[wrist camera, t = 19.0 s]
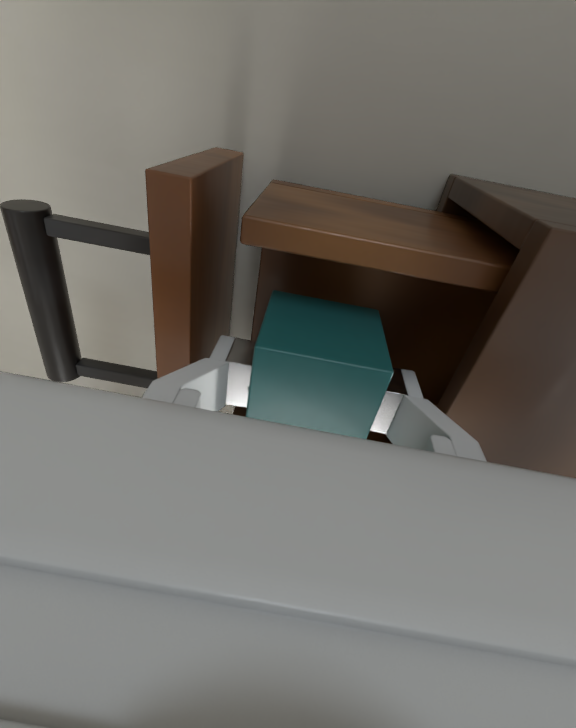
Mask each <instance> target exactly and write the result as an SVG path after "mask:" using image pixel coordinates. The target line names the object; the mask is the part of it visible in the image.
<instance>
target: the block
mask: <svg viewBox="0 0 576 728" xmlns="http://www.w3.org/2000/svg"><path fill="white" fill-rule="evenodd" d="M393 373H394V372H393V368H392V364H391V360H390V355H389V351H388V347H387V343H386V339H385V335H384V331H383V327H382V323H381V318H380V314H379V311H378V310H376V309H371V308H366V307H360V306H355V305H350V304H345V303H339V302H334V301H329V300H324V299H318V298H313V297H308V296H303V295H297V294H292V293H287V292H282V291H276V290H273V291H272V294H271V297H270V300H269V303H268V306H267V309H266V312H265V316H264V319H263V322H262V325H261V328H260V331H259V334H258V337H257V341H256V344H255V347H254V354H253V362H252V370H251V377H250V385H249V393H248V401H247V409H246V416H245V417H249V418H254V419H260V420H265V421H270V422H276V423H281V424H287V425H292V426H297V427H303V428H308V429H313V430H319V431H324V432H330V433H335V434H340V435H346V436H351V437H356V438H362V439H367V437H368V434H369V432H370V429H371V427H372V424H373V422H374V420H375V417H376V415H377V412H378V410H379V407H380V405H381V403H382V400H383V398H384V395H385V393H386V390H387V388H388V386H389V383H390V381H391V378H392V376H393Z"/></svg>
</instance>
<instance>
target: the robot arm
mask: <svg viewBox="0 0 576 728" xmlns="http://www.w3.org/2000/svg"><path fill="white" fill-rule="evenodd" d="M255 344H256V342H255V341H250V340H245V339H241V338H235V337H231V336H226V335H221V336H220V338H219V340H218V342H217V344H216V346H215V348H214V350H213V352H212V354H211V356H210V358H204V359H201V360H199V361H197V362H195V363H192V364H190V365H188V366H185V367H183V368H181V369H179V370H176V371H174V372H172V373H170V374H167V375H165V376H163V377H160V378H158V379H156V380H154V381H152V383H151V384H150V386H149V387H148V389H147V390H146V392H145V393H144V394H143V396H142V397H136V396H131V395H125V394H120V393H115V392H109V391H104V390H99V389H93V388H88V387H83V386H77V385H72V384H66V383H61V382H56V381H50V380H45V379H40V378H34V377H29V376H23V375H18V374H13V373H7V372H2V371H0V728H576V478H571V477H566V476H560V475H555V474H550V473H544V472H539V471H534V470H528V469H523V468H518V467H512V466H507V465H501V464H496V463H491V462H487V461H486V458H485V456H484V454H483V452H482V449H481V447H480V445H479V443H478V442H477V441H476V440H475V439H474V438H473V437H472V436H470V435H469V434H468V433H467V432H466V431H464V430H463V429H462V428H461V427H460V426H459V425H457V424H456V423H455V422H454V421H453V420H451V419H450V418H449V417H448V416H447V415H445V414H444V413H443V412H442V411H441V410H440V409H438V408H437V407H436V406H435V405H434V404H432V403H431V402H430V401H429V400H428V399H424V398H423V395H422V392H421V389H420V386H419V383H418V380H417V377H416V374H415V372H414V371H412V370H405V369H398V368H393V372H394V373H393V376H392V378H391V381H390V383H389V386H388V388H387V390H386V393H385V395H384V398H383V400H382V403H381V405H380V407H379V410H378V412H377V415H376V417H375V420H374V422H373V424H372V427H371V429H370V431H373V432H378V433H382V434H386V436H387V437H388V438H389V440H390V441H391V443H392V444H389V443H383V442H378V441H373V440H367V439H362V438H356V437H351V436H346V435H340V434H335V433H330V432H324V431H319V430H313V429H308V428H303V427H297V426H292V425H287V424H281V423H276V422H270V421H265V420H260V419H254V418H249V417H244V416H238V415H233V414H228V413H222V412H218V411H219V410H220V409H222V408H223V407H224V406H226V405H233V406H239V407H245V408H247V401H248V393H249V385H250V377H251V370H252V362H253V354H254V347H255Z"/></svg>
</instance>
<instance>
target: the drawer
mask: <svg viewBox="0 0 576 728" xmlns="http://www.w3.org/2000/svg"><path fill="white" fill-rule="evenodd" d="M243 156H244V154H243V153H242V152H238V151H233V150H228V149H222V148H217V147H215V148H211V149H208V150H205V151H202V152H199V153H196V154H192V155H189V156H186V157H183V158H180V159H176V160H173V161H170V162H167V163H164V164H160V165H157V166H154V167H151V168H148V169H146V170H145V174H146V191H147V208H148V225H149V232H145V231H140V230H135V229H129V228H124V227H119V226H114V225H109V224H104V223H98V222H93V221H88V220H83V219H78V218H72V217H67V216H62V215H57V214H53V215H52V211H51V207H50V205H49V204H47V203H44V202H41V201H35V200H10V201H5V202H3V203H1V204H0V208H1V212H2V215H3V219H4V223H5V226H6V230H7V233H8V237H9V241H10V244H11V248H12V251H13V255H14V259H15V262H16V266H17V269H18V273H19V276H20V280H21V284H22V287H23V291H24V294H25V298H26V302H27V305H28V309H29V312H30V316H31V319H32V323H33V327H34V330H35V334H36V337H37V341H38V345H39V348H40V352H41V355H42V359H43V363H44V366H45V370H46V373H47V376H48V378H49V379H51V380H52V381H56V382H67V381H71V380H74V379H76V378H78V377H80V376H84V377H90V378H95V379H101V380H106V381H111V382H117V383H122V384H127V385H133V386H138V387H143V388H148V387H149V386H150V384H151V383H152V381H154V380H156V379H158V378H160V377H163V376H165V375H167V374H170V373H172V372H174V371H176V370H179V369H181V368H183V367H185V366H188V365H190V364H192V363H195V362H197V361H199V360H201V359H204V358H210V356H211V354H212V352H213V350H214V348H215V346H216V344H217V342H218V340H219V338H220V336H221V335H226V336H229V332H230V320H231V307H232V294H233V282H234V269H235V256H236V244H237V231H238V219H239V206H240V193H241V181H242V168H243ZM57 237H58V238H63V239H69V240H74V241H79V242H84V243H89V244H95V245H100V246H105V247H110V248H115V249H121V250H126V251H131V252H136V253H141V254H147V255H150V260H151V277H152V294H153V311H154V328H155V345H156V362H157V371H152V370H146V369H141V368H136V367H130V366H125V365H119V364H114V363H109V362H103V361H98V360H93V359H87V358H81V353H80V348H79V344H78V339H77V334H76V329H75V324H74V319H73V314H72V309H71V304H70V299H69V294H68V289H67V284H66V279H65V275H64V270H63V265H62V260H61V255H60V250H59V245H58V240H57ZM240 241H241V243H242V244H245V245H251V246H256V247H261V248H262V252H261V260H260V269H259V277H258V285H257V293H256V302H255V310H254V318H253V327H252V335H251V341H255V342H256V341H257V337H258V334H259V331H260V328H261V325H262V322H263V319H264V316H265V312H266V309H267V306H268V303H269V300H270V297H271V294H272V291H273V290H276V291H282V292H287V293H292V294H297V295H303V296H308V297H313V298H318V299H324V300H329V301H334V302H339V303H345V304H350V305H355V306H360V307H366V308H371V309H376V310H378V311H379V314H380V318H381V323H382V327H383V331H384V335H385V339H386V343H387V347H388V351H389V355H390V360H391V364H392V368H398V369H405V370H412V371H414V372H415V374H416V377H417V380H418V383H419V386H420V389H421V392H422V395H423V398H424V399H428V400H429V401H430V402H431V403H432V404H434V405H435V406H436V407H437V405H438V403H439V401H440V399H441V398H442V396H443V394H444V392H445V390H446V388H447V386H448V384H449V383H450V381H451V379H452V377H453V375H454V373H455V371H456V369H457V368H458V366H459V364H460V362H461V360H462V358H463V356H464V354H465V353H466V351H467V349H468V347H469V345H470V343H471V341H472V339H473V338H474V336H475V334H476V332H477V330H478V328H479V326H480V324H481V323H482V321H483V319H484V317H485V315H486V313H487V311H488V309H489V308H490V306H491V304H492V302H493V300H494V298H495V296H496V295H497V293H498V291H499V289H500V287H501V285H502V283H503V281H504V280H505V278H506V276H507V274H508V272H509V270H510V268H511V266H512V265H513V263H514V261H515V259H516V257H517V255H518V253H519V251H520V250H519V249H518V248H516V247H515V246H514V245H512V244H511V243H509V242H508V241H507V240H505V239H504V238H503V237H501V236H500V235H499V234H497V233H496V232H495V231H493V230H492V229H490V228H489V227H488V226H486V225H485V224H484V223H482V222H481V221H480V220H478V219H474V218H469V217H463V216H458V215H453V214H448V213H443V212H438V211H433V210H428V209H423V208H417V207H412V206H407V205H402V204H397V203H392V202H387V201H382V200H377V199H371V198H366V197H361V196H356V195H351V194H346V193H341V192H336V191H331V190H325V189H320V188H315V187H310V186H305V185H300V184H295V183H290V182H285V181H279V180H274V179H273V180H272V181H271V182H270V184H269V185H268V186H267V187H266V189H265V190H264V191H263V192H262V193H261V195H260V196H259V197H258V198H257V199H256V201H255V202H254V203H253V204H252V205H251V206H250V208H249V209H248V210H247V211H246V212H245V214H244V215H243V217H242V224H241V236H240ZM246 409H247V408H245V407H239V406H235V409H234V413H233V415H238V416H244V417H245V416H246ZM367 440H373V441H378V442H383V443H389V444H392V443H391V441H390V440H389V438H388V437H387V436H386V434H382V433H378V432H373V431H370V432H369V434H368V437H367Z"/></svg>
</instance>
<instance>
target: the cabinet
mask: <svg viewBox="0 0 576 728" xmlns="http://www.w3.org/2000/svg"><path fill="white" fill-rule="evenodd" d="M436 211H438V212H443V213H448V214H453V215H458V216H463V217H469V218H474V219H478V220H480V221H481V222H482V223H484V224H485V225H486V226H488V227H489V228H490V229H492V230H493V231H495V232H496V233H497V234H499V235H500V236H501V237H503V238H504V239H505V240H507V241H508V242H509V243H511V244H512V245H514V246H515V247H516V248H518V249H519V250H520V251H519V253H518V255H517V257H516V259H515V261H514V263H513V265H512V266H511V268H510V270H509V272H508V274H507V276H506V278H505V280H504V281H503V283H502V285H501V287H500V289H499V291H498V293H497V295H496V296H495V298H494V300H493V302H492V304H491V306H490V308H489V309H488V311H487V313H486V315H485V317H484V319H483V321H482V323H481V324H480V326H479V328H478V330H477V332H476V334H475V336H474V338H473V339H472V341H471V343H470V345H469V347H468V349H467V351H466V353H465V354H464V356H463V358H462V360H461V362H460V364H459V366H458V368H457V369H456V371H455V373H454V375H453V377H452V379H451V381H450V383H449V384H448V386H447V388H446V390H445V392H444V394H443V396H442V398H441V399H440V401H439V403H438V405H437V408H438V409H440V410H441V411H442V412H443V413H444V414H445V415H447V416H448V417H449V418H450V419H451V420H453V421H454V422H455V423H456V424H457V425H459V426H460V427H461V428H462V429H463V430H464V431H466V432H467V433H468V434H469V435H470V436H472V437H473V438H474V439H475V440H476V441H477V442H478V443H479V445H480V447H481V449H482V452H483V454H484V456H485V458H486V461H487V462H491V463H496V464H501V465H507V466H512V467H518V468H523V469H528V470H534V471H539V472H544V473H550V474H555V475H560V476H566V477H571V478H576V198H571V197H566V196H560V195H555V194H550V193H545V192H540V191H535V190H530V189H525V188H520V187H515V186H510V185H505V184H500V183H495V182H489V181H484V180H479V179H474V178H469V177H464V176H459V175H454V174H450V176H449V179H448V181H447V184H446V187H445V189H444V192H443V195H442V197H441V200H440V202H439V205H438V208H437V210H436Z"/></svg>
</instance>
